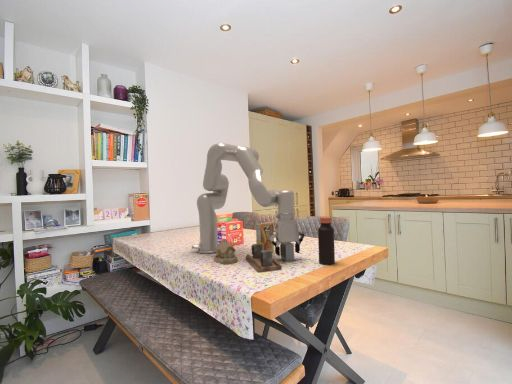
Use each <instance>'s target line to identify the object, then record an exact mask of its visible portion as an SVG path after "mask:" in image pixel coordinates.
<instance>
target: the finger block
mask: <svg viewBox="0 0 512 384" xmlns="http://www.w3.org/2000/svg"><path fill="white" fill-rule="evenodd" d="M279 247H280V259H281V260H282V261H284V262H285V263H290V262H291V263H292V262H295V244H294V242H286V243H280V245H279Z"/></svg>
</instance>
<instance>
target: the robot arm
mask: <svg viewBox="0 0 512 384" xmlns="http://www.w3.org/2000/svg"><path fill="white" fill-rule="evenodd" d="M259 159H260V155H259V152H258V151H257V149H255V148H253V147H249V146H240V145H234V144H229V143H224V142H223V143H222V142H219V143H218V142H217V143H215V144H212V145H211V146H210V147H209V149H208V150H207V154H206V163H205V164H206V165H205V169H204V175H203V181H202V188H203V189H204V190H205V191H208V192H205V193H202V194H200V195H199V196H198V197H197V199H196V207H197V211H198V218H199V219H198V220H199V243H197V244H192V245H191V249H195V250H197V252H198V253H199V254H215V253H217V251H215V250H216V247H217V246H218V245H219V242H218V241H219V238H218V236H219V235H218V234H219V233H218V217H217V213H216V211H215V210H220V209H222V208H223V207H224V206H225V204H226V201H227V197H228V191H229V184H230V183H229V182H230V181H229V179H228V177H227V176H226V175H225V174H222V170H223V163H222V161H230V162H237V163H238V165H239V166H240V168H241V169H242V172H243V173H244V174H245V176H246V177H247V181H248V188H249V190H250V193H251V195H252V196H253V198H254V200H255V202H257V204H258V205H259V206H261V207H263V208H268V207H275V206H277V214H276V215H274V216H275V219H277V221H276V226H275V232H274V235H272V236H270V237H269V239H270V241H271V243H272V244H273V245H274V252H275V254H276V255H277V256H278V257H279V256H280V257H281V255H280V245H281V243H286V242H291V243H294V242H295V244H294V253H297V254H300V251H301V248H300V247H301V246H300V245H301V243H302V242H303V241H304V238H305V234H304V233H302V232H301V231H299V225H298V221H297V219H296V218H295V195H294V194H295V193H294V191H293V190H291V189H290V190H289V189H284V190H276V189H275V190H274V189H272V190H271V189H270V190H268V189H267V188H266V186H265V185H264V182H263V181H262V174H263V172H264V169H263V168H262V166H261V165H260V163H259ZM273 239H276V241H275V240H273Z"/></svg>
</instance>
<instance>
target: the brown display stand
mask: <svg viewBox="0 0 512 384" xmlns="http://www.w3.org/2000/svg"><path fill="white" fill-rule="evenodd" d="M245 261H246V262H247V263H248V264H249V265H250V266H251V267H252V268H253V269H254V270H255V271H256V272H257V273H264V272H272V271H281V270H282V265H281V263H279V262H278V261H277V260H276V259H275V258H273V252H272V251H271V250H263V245H262V244H256V243H253V244H252V245H251V255H250V254H249V253H247V254H246V256H245Z"/></svg>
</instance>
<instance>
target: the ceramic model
mask: <svg viewBox="0 0 512 384" xmlns="http://www.w3.org/2000/svg"><path fill="white" fill-rule="evenodd" d="M215 251H217V252H216V254H215V255H214V256H213V261H214V262H215V263H218V264H220V265H229V264H230V265H231V264H234V263H237V262H238V261H239V260H238V257H237V256H236V254H235V252H236V248H235V247H234V246H233V245H232V244H231V243H230V242H229V241H228V239H225V238H224V240H223V239H222V240H221V241H220V243H218V246H217V247H216V250H215Z"/></svg>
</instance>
